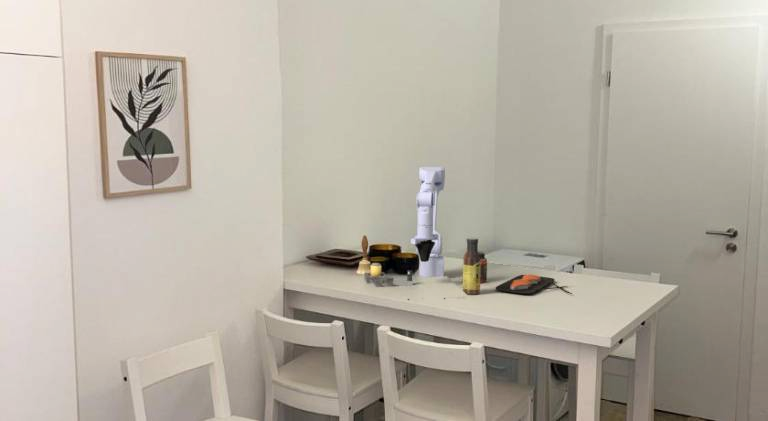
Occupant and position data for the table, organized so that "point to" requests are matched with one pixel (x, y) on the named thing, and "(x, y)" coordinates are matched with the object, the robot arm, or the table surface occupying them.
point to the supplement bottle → (483, 267)
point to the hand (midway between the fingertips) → (424, 261)
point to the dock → (379, 279)
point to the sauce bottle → (471, 268)
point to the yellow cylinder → (375, 269)
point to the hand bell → (364, 259)
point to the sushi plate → (527, 284)
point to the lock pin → (404, 282)
